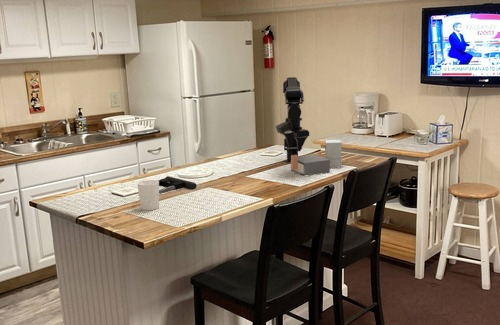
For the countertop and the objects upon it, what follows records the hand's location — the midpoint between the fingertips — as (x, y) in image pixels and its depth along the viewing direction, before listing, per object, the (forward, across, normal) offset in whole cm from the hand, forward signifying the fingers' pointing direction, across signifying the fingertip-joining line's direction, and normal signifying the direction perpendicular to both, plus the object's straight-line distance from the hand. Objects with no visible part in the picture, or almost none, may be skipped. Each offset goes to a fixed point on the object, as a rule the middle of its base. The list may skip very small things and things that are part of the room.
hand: (294, 149), depth 241 cm
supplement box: (+12, -3, +23) cm, 26 cm away
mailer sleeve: (+11, 0, +8) cm, 14 cm away
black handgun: (+12, -4, -58) cm, 60 cm away
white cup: (+12, +21, -72) cm, 76 cm away
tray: (+11, 0, +6) cm, 12 cm away
